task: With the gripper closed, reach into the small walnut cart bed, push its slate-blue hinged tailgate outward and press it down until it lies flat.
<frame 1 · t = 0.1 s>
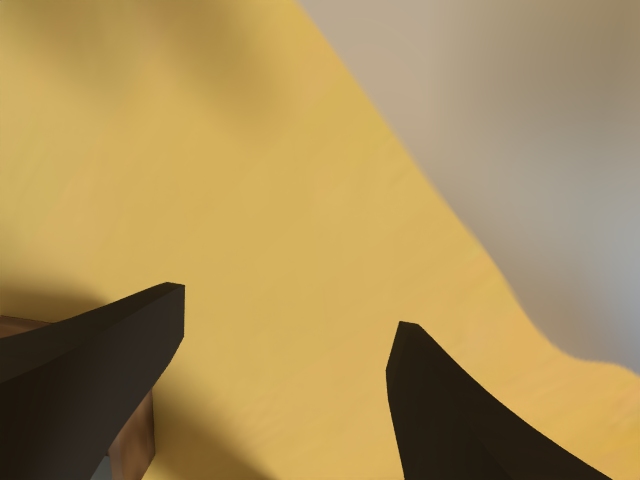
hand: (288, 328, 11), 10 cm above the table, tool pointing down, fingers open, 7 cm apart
cart bed: (83, 390, 26), on the table
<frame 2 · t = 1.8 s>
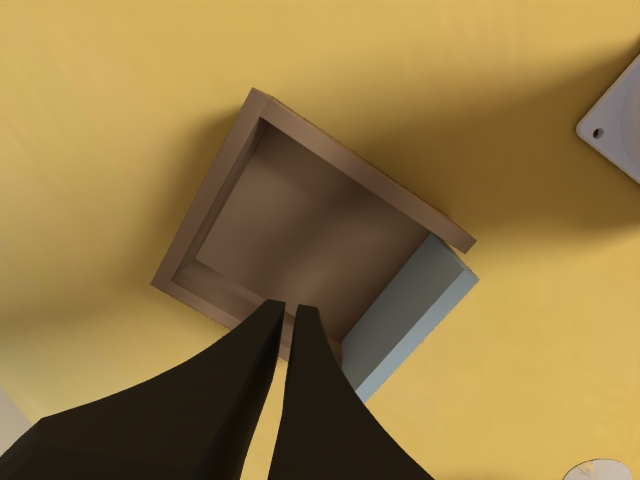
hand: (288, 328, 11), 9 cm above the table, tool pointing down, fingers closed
wineglass: (594, 479, 25), on the table
cart bed: (311, 237, 20), on the table
tailgate: (395, 317, 17), point 4 cm above the table, hinge at 0.0°
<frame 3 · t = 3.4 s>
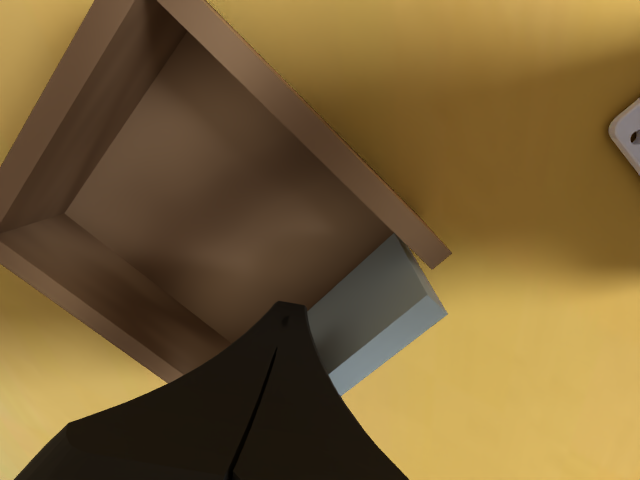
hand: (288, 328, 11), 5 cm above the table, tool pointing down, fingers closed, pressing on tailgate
cart bed: (235, 213, 14), on the table
tailgate: (323, 342, 12), point 4 cm above the table, hinge at 0.8°, touching gripper
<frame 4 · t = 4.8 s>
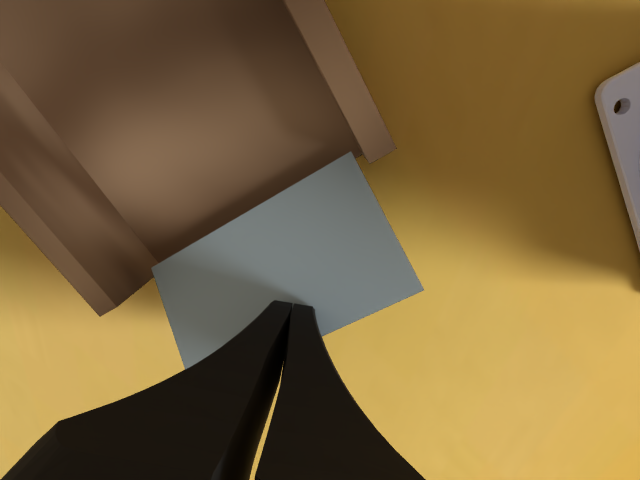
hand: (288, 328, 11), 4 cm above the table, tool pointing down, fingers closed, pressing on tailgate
cart bed: (171, 72, 12), on the table
tailgate: (274, 277, 12), point 3 cm above the table, hinge at 62.0°, touching gripper
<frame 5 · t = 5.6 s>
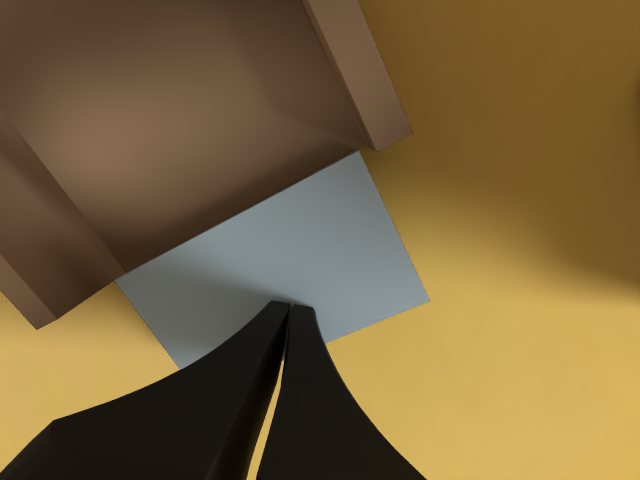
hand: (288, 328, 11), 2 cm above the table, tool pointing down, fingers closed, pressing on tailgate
cart bed: (140, 36, 10), on the table
tailgate: (269, 284, 11), point 2 cm above the table, hinge at 87.8°, touching gripper
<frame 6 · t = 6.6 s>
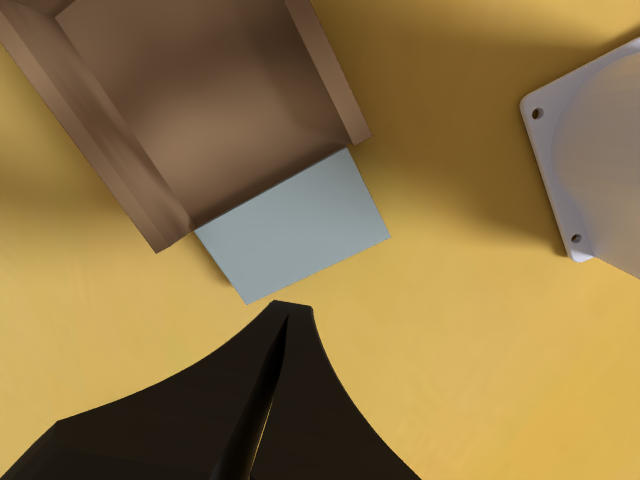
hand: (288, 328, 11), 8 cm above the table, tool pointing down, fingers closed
cart bed: (211, 76, 16), on the table
tailgate: (292, 231, 17), point 1 cm above the table, hinge at 92.5°
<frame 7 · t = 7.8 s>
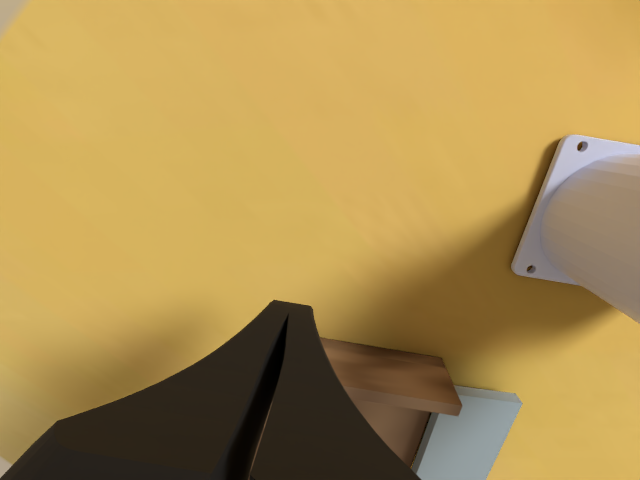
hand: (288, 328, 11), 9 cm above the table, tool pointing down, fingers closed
cart bed: (339, 404, 24), on the table
tailgate: (461, 442, 22), point 1 cm above the table, hinge at 92.8°
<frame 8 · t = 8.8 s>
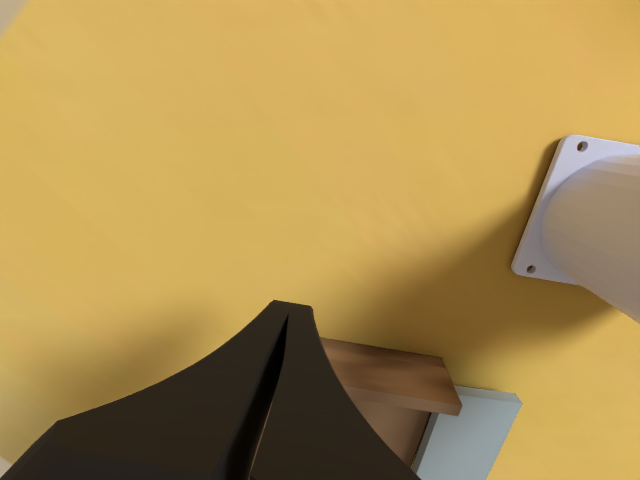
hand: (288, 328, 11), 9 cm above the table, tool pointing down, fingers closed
cart bed: (339, 404, 24), on the table
tailgate: (461, 442, 22), point 1 cm above the table, hinge at 92.8°
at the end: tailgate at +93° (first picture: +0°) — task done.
